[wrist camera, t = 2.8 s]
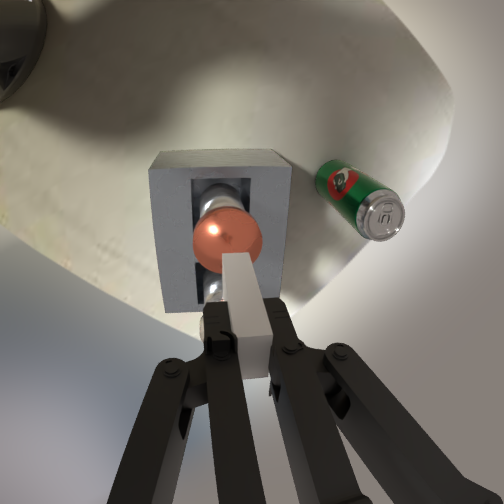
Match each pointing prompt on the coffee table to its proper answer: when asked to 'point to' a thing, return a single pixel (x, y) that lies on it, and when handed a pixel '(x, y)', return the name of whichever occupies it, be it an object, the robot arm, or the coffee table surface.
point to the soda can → (361, 200)
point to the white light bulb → (211, 292)
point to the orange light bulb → (224, 228)
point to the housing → (188, 214)
